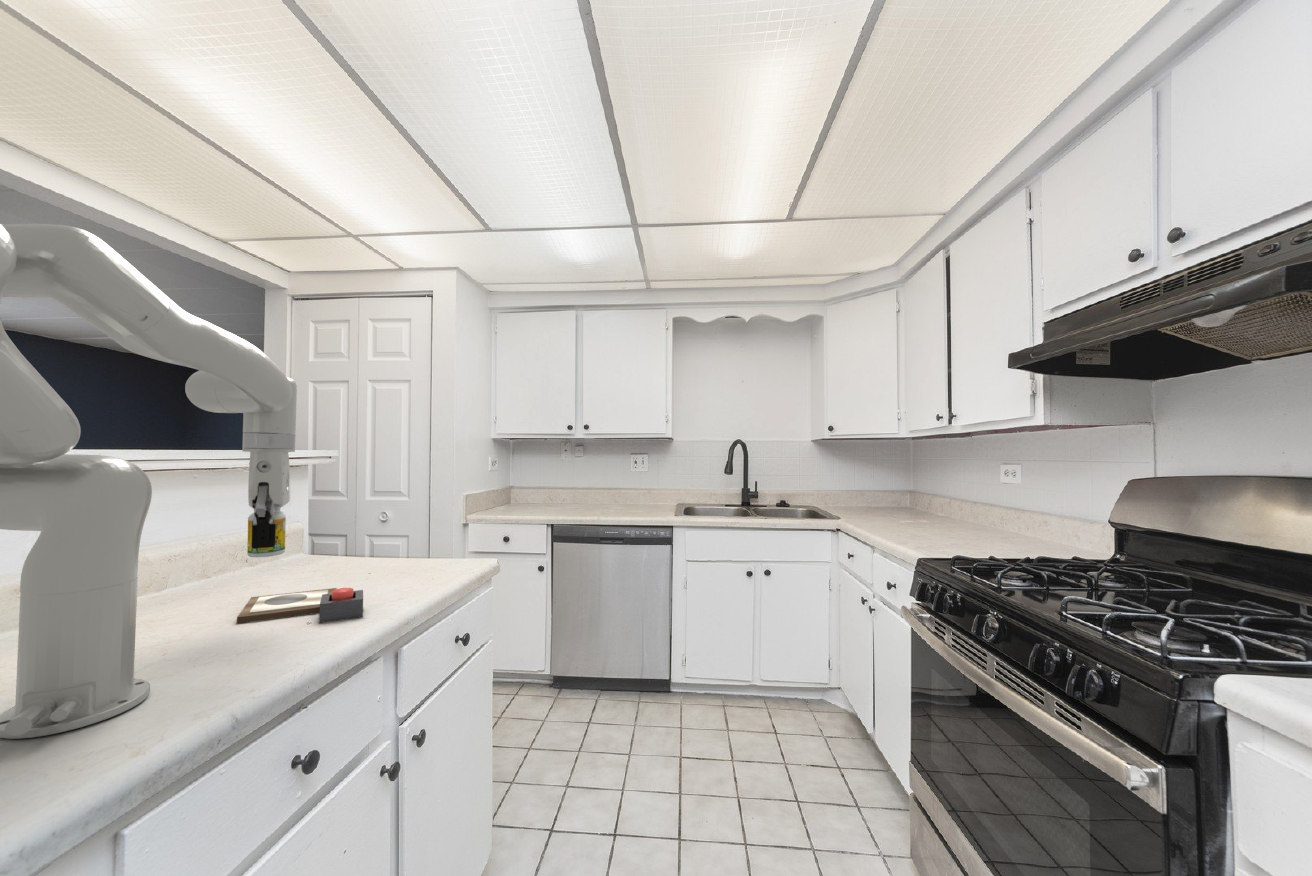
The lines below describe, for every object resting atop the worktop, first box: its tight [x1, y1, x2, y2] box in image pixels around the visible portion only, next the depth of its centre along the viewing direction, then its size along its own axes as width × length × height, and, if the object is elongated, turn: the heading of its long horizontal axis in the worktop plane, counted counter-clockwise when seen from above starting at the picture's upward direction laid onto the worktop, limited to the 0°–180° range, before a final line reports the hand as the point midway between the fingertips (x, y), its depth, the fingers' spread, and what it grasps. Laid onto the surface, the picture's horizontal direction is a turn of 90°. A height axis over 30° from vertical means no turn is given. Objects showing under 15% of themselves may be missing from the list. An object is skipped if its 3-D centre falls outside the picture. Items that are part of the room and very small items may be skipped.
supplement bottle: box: [246, 502, 287, 558], centre depth 89 cm, size 5×5×10 cm
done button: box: [332, 587, 354, 601], centre depth 97 cm, size 4×4×2 cm
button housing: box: [318, 589, 364, 624], centre depth 97 cm, size 7×7×4 cm
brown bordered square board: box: [236, 587, 338, 624], centre depth 101 cm, size 14×15×2 cm
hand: (266, 543), depth 89 cm, fingers closed on supplement bottle, 5 cm apart
